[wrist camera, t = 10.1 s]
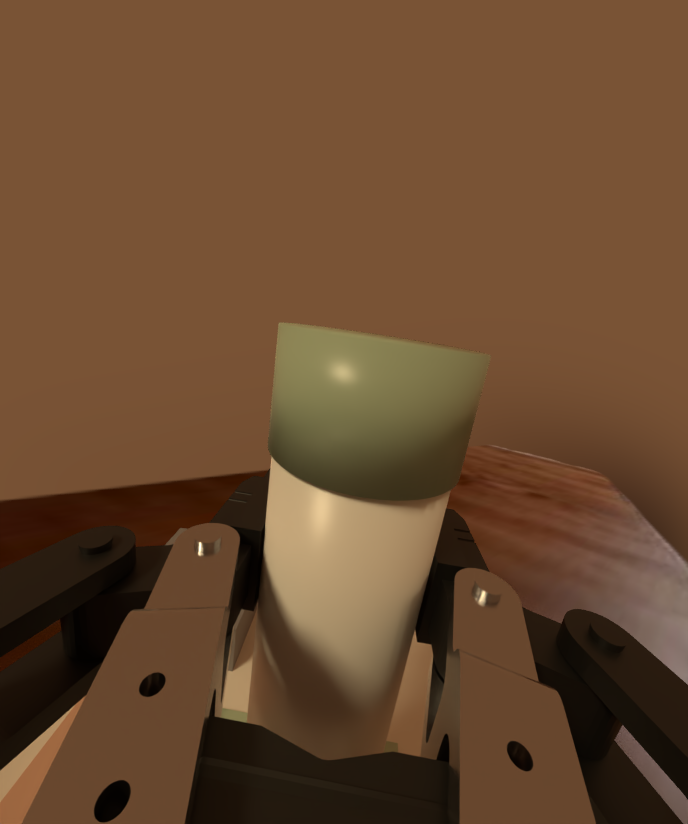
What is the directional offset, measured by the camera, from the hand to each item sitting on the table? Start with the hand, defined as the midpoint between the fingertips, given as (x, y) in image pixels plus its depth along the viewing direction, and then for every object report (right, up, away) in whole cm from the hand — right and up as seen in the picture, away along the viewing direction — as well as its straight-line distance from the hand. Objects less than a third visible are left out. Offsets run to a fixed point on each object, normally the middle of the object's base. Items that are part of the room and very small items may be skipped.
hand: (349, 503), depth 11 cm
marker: (-1, -7, -1) cm, 8 cm away
